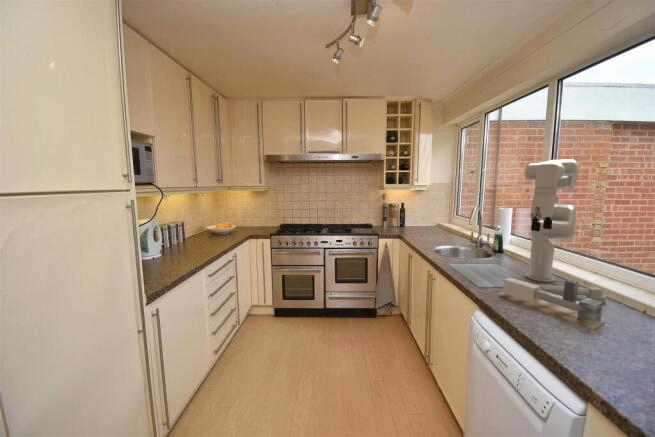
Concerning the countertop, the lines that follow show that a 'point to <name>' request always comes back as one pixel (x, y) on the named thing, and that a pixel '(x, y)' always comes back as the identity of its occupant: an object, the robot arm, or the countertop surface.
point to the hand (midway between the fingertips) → (541, 229)
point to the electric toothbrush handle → (588, 292)
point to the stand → (569, 311)
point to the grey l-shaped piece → (566, 300)
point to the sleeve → (520, 289)
